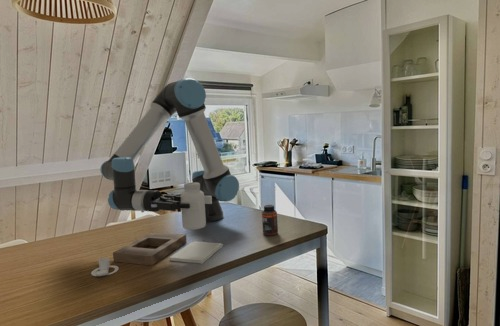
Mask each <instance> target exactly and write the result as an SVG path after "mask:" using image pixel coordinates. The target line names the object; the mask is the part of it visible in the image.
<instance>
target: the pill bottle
mask: <svg viewBox="0 0 500 326" xmlns="http://www.w3.org/2000/svg"><path fill="white" fill-rule="evenodd" d="M183 187H184V188H183V190H184V191H183V192H181V193H180V194H181V201H200V210H183V209H182V208H181V220H182V222H181V224H182V228H183V229H184V230H192V231H193V230H201V229H203V228H205V227H206V226H207V222H206V216H205V199H204V193H203V192H202V191H200V190H199V189H200V183H197V182H193V181H191V182H186V183H184V185H183Z"/></svg>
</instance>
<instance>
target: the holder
mask: <svg viewBox="0 0 500 326" xmlns="http://www.w3.org/2000/svg"><path fill="white" fill-rule="evenodd" d="M186 243H187V234H183V233H181V234H180V233H165V232H153V231H152V232H150V233H148V234H146V235H144V236H142V237H141V238H139V239H136V240H135V241H133V242H131V243H129V244H127V245H125V246H123V247H121V248H119V249H116V251H113V252H112V257H113V262H116V263H117V262H118V263H125V264H134V265H135V264H136V265H145V266H154V265H155V264H156V263H158V262H159V261H161V260H162V259H164V258H165V257H167V256H168V255H169V254H172V253H173V252H174V251H176V250H177V249H178V248H180V247H182V246H183V245H184V244H186ZM149 246H152V247H157V248H147V247H149Z"/></svg>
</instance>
